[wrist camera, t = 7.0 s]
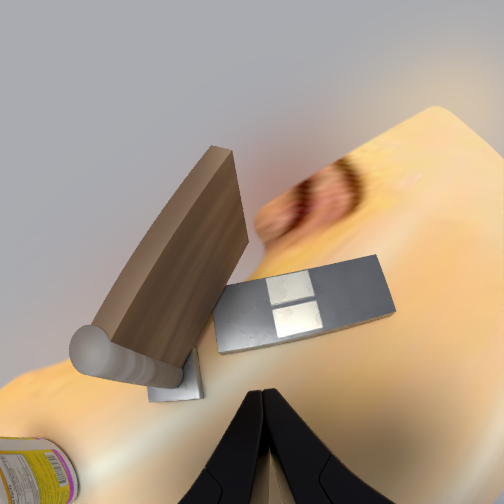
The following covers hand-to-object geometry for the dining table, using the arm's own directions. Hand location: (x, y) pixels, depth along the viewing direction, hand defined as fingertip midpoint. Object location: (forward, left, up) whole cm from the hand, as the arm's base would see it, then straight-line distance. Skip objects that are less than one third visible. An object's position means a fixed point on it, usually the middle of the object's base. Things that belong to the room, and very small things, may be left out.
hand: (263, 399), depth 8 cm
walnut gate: (+5, -5, -9) cm, 12 cm away
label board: (+1, -4, -11) cm, 12 cm away
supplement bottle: (+16, +13, -11) cm, 24 cm away
